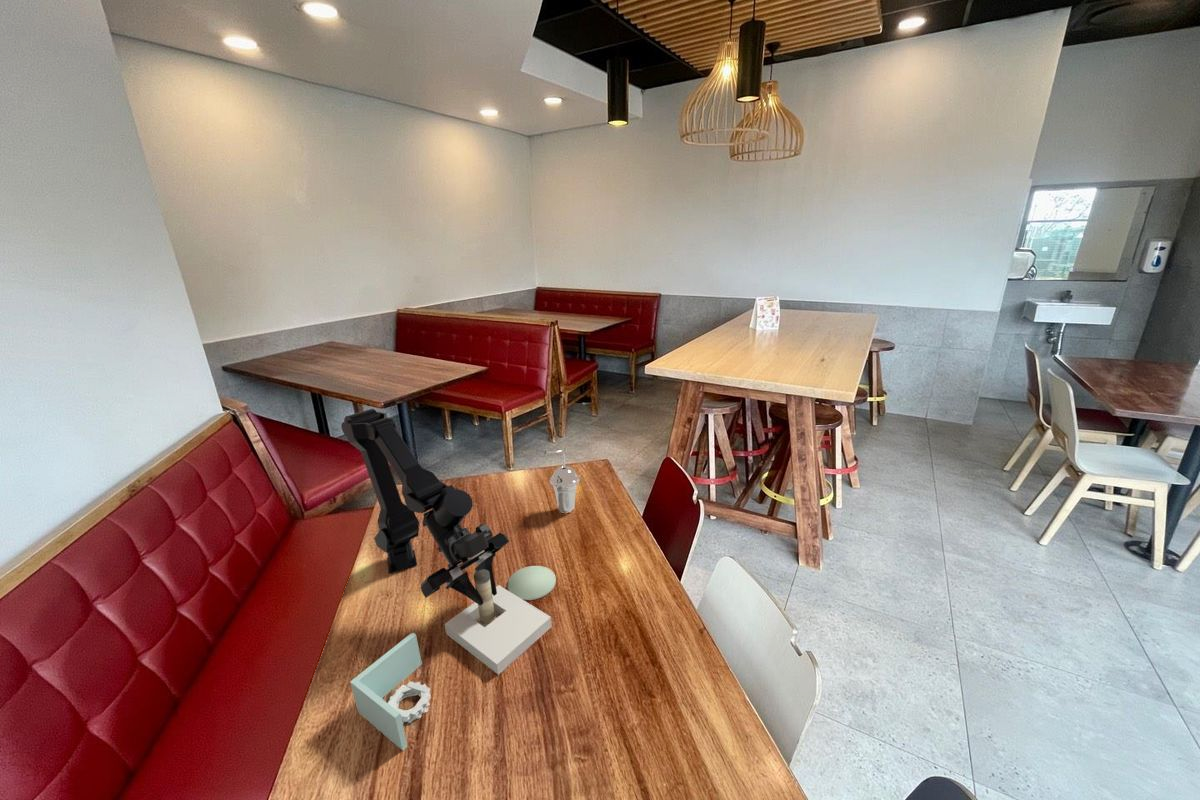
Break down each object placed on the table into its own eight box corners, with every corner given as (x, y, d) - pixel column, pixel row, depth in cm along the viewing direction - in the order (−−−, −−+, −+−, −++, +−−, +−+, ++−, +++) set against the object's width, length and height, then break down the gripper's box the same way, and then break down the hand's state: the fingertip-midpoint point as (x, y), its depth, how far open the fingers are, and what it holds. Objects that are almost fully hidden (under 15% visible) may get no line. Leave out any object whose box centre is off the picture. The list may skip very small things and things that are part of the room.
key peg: (472, 624, 98) (465, 576, 94) (489, 611, 101) (483, 564, 97) (486, 634, 95) (479, 585, 91) (503, 620, 98) (497, 572, 94)
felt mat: (502, 576, 111) (501, 575, 111) (545, 562, 116) (545, 560, 116) (516, 606, 102) (515, 604, 102) (563, 589, 106) (563, 587, 106)
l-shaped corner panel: (403, 753, 74) (395, 717, 71) (359, 715, 80) (350, 681, 77) (462, 693, 83) (456, 660, 81) (418, 663, 89) (412, 632, 87)
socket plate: (446, 633, 95) (444, 624, 95) (499, 594, 106) (498, 584, 105) (498, 674, 86) (497, 664, 85) (551, 626, 96) (550, 616, 95)
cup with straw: (580, 518, 134) (577, 453, 128) (548, 518, 134) (543, 454, 128) (581, 502, 142) (578, 441, 136) (551, 502, 142) (547, 441, 136)
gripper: (419, 542, 86) (464, 617, 83) (499, 498, 100) (540, 562, 97) (403, 562, 93) (444, 632, 90) (479, 519, 107) (517, 578, 104)
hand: (489, 599), depth 95 cm, fingers open, 3 cm apart
